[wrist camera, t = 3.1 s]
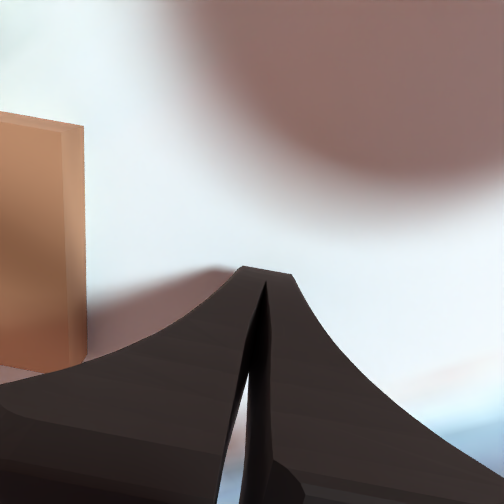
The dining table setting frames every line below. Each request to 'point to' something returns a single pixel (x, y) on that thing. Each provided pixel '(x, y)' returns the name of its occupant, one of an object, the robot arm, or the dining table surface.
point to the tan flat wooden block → (42, 244)
